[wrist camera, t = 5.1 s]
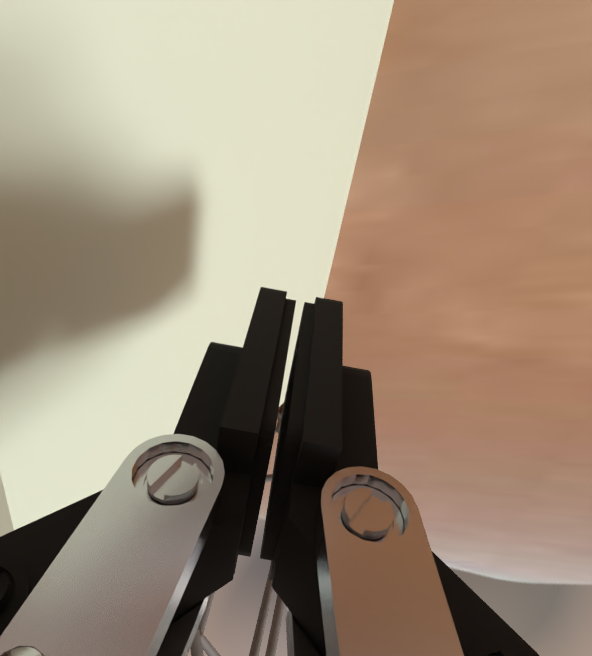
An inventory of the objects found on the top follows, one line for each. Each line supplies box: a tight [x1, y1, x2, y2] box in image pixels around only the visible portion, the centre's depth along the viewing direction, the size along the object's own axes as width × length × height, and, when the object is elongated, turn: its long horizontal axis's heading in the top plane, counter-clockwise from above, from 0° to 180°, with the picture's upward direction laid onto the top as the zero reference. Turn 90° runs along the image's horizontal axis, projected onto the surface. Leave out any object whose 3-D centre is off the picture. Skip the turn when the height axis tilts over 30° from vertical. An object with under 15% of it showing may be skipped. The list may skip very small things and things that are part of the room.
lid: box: [0, 0, 394, 537], centre depth 15 cm, size 22×16×1 cm
